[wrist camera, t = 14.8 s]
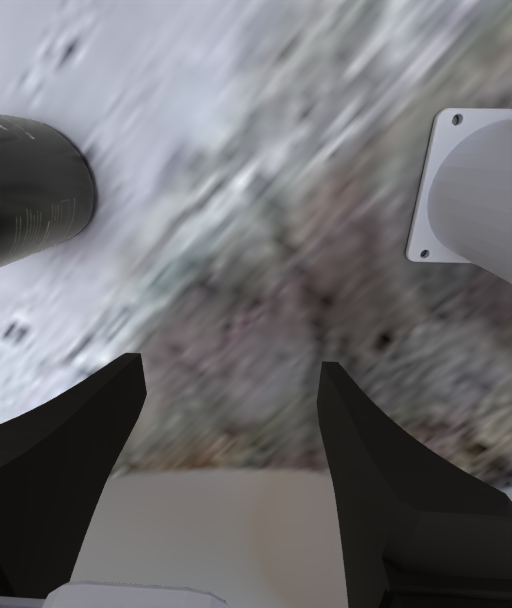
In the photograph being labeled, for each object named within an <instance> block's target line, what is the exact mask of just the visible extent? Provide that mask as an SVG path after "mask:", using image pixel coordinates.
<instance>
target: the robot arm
mask: <svg viewBox="0 0 512 608" xmlns="http://www.w3.org/2000/svg"><path fill="white" fill-rule="evenodd" d="M455 115H458V117H459V121H458V123H457V124H456V125H453V123H452V119H453V117H454V116H455ZM423 250H427V253H426V255H424V256H420V254H421V252H422V251H423ZM406 257H407V258H408V259H409V260H410V261H413V262H444V263H474V264H476V265H478V266H480V267H482V268H483V269H485V270H487V271H489V272H491V273H493V274H494V275H496V276H498V277H500V278H502V279H503V280H505V281H507V282H509V283H511V284H512V109H477V108H448V109H444V110H442V111H440V112H439V113H438V114H437V115H436V117H435V119H434V123H433V128H432V133H431V137H430V142H429V147H428V151H427V156H426V161H425V165H424V170H423V174H422V179H421V184H420V188H419V193H418V198H417V202H416V207H415V211H414V216H413V221H412V225H411V230H410V235H409V239H408V244H407V249H406ZM146 395H147V392H146V385H145V378H144V372H143V365H142V358H141V353H125V354H123V355H121V356H120V357H118V358H116V359H115V360H113V361H112V362H110V363H109V364H107V365H106V366H104V367H103V368H101V369H100V370H98V371H97V372H95V373H94V374H92V375H91V376H89V377H88V378H86V379H85V380H83V381H82V382H80V383H78V384H77V385H75V386H73V387H72V388H70V389H69V390H67V391H65V392H64V393H62V394H60V395H59V396H57V397H55V398H53V399H52V400H50V401H48V402H46V403H44V404H42V405H40V406H38V407H36V408H35V409H33V410H31V411H29V412H27V413H24V414H22V415H20V416H18V417H16V418H13V419H11V420H9V421H7V422H4V423H2V424H0V608H230V607H229V605H228V604H227V602H226V601H225V600H223V599H221V598H219V597H218V596H216V595H214V594H213V593H211V592H208V591H203V590H198V589H193V588H188V587H173V586H157V585H143V584H127V583H112V582H111V583H110V582H96V581H79V582H69V581H70V578H71V575H72V572H73V569H74V566H75V563H76V560H77V557H78V554H79V552H80V549H81V546H82V543H83V540H84V537H85V535H86V532H87V529H88V527H89V524H90V521H91V518H92V516H93V513H94V511H95V508H96V505H97V503H98V500H99V498H100V495H101V493H102V490H103V488H104V485H105V483H106V481H107V478H108V476H109V474H110V472H111V470H112V468H113V466H114V464H115V462H116V460H117V458H118V456H119V454H120V452H121V451H122V449H123V447H124V445H125V443H126V441H127V439H128V437H129V435H130V433H131V431H132V429H133V427H134V426H135V424H136V422H137V420H138V418H139V415H140V412H141V410H142V407H143V404H144V401H145V398H146ZM317 408H318V418H319V426H320V431H321V435H322V439H323V443H324V448H325V452H326V456H327V460H328V464H329V469H330V473H331V477H332V481H333V486H334V492H335V498H336V504H337V512H338V520H339V528H340V535H341V543H342V550H343V560H344V569H345V578H346V585H347V586H346V587H347V596H348V607H349V608H512V501H511V500H510V499H509V497H508V496H507V495H506V494H505V493H503V492H501V491H499V490H498V489H496V488H494V487H492V486H490V485H488V484H486V483H485V482H483V481H481V480H479V479H477V478H475V477H473V476H471V475H470V474H468V473H466V472H464V471H463V470H461V469H460V468H458V467H456V466H455V465H453V464H451V463H450V462H448V461H446V460H445V459H443V458H442V457H440V456H439V455H437V454H436V453H434V452H433V451H431V450H430V449H429V448H427V447H426V446H424V445H423V444H422V443H420V442H419V441H417V440H416V439H415V438H413V437H412V436H411V435H409V434H408V433H407V432H406V431H404V430H403V429H402V428H401V427H400V426H398V425H397V424H396V423H395V422H394V421H392V420H391V419H390V418H389V417H388V416H387V415H386V414H385V413H384V412H383V411H382V410H380V409H379V408H378V407H377V406H376V405H375V404H374V403H373V402H372V401H371V400H370V399H369V397H368V396H367V395H366V394H365V393H364V392H363V391H362V390H361V389H360V388H359V386H358V385H357V384H356V383H355V382H354V381H353V379H352V378H351V377H350V376H349V375H348V373H347V372H346V371H345V370H344V369H343V367H342V366H341V365H340V364H339V363H338V362H322V368H321V375H320V383H319V390H318V398H317Z"/></svg>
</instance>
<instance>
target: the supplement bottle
mask: <svg viewBox="0 0 512 608" xmlns="http://www.w3.org/2000/svg"><path fill="white" fill-rule="evenodd" d="M93 205H94V189H93V184H92V180H91V176H90V174H89V171H88V169H87V166H86V165H85V163H84V161H83V159H82V158H81V156H80V155H79V153H78V152H77V151H76V149H75V148H74V147H73V146H72V145H71V143H70V142H68V141H67V140H66V139H65V138H64V137H63V136H62V135H61V134H59V133H58V132H56V131H55V130H53V129H52V128H50V127H48V126H46V125H44V124H42V123H39V122H36V121H33V120H29V119H25V118H19V117H14V116H7V115H0V267H3V266H5V265H8V264H10V263H12V262H15V261H17V260H20V259H22V258H25V257H27V256H30V255H32V254H35V253H37V252H40V251H42V250H44V249H47V248H49V247H52V246H54V245H57V244H59V243H61V242H64V241H66V240H68V239H70V238H72V237H74V236H75V235H77V234H78V233H79V232H80V231H81V230H82V229H83V228H84V227H85V226H86V224H87V223H88V221H89V219H90V217H91V214H92V210H93Z"/></svg>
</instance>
